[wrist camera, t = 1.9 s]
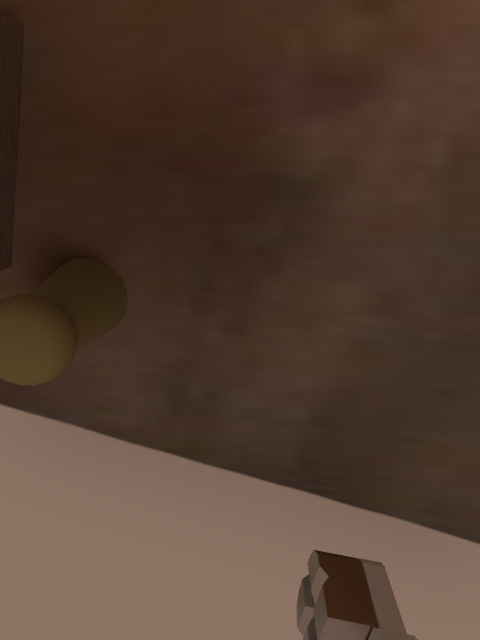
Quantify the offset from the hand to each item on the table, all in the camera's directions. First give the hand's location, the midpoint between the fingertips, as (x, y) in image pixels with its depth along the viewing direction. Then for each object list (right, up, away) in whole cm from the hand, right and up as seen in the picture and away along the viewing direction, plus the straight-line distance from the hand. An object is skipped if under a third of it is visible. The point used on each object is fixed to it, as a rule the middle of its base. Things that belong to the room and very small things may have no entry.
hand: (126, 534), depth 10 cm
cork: (-9, +7, +25) cm, 27 cm away
